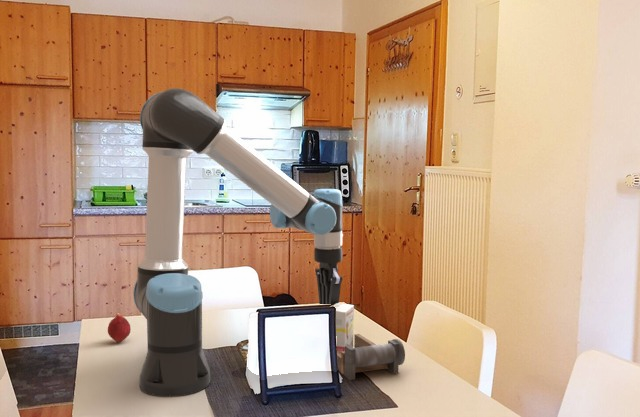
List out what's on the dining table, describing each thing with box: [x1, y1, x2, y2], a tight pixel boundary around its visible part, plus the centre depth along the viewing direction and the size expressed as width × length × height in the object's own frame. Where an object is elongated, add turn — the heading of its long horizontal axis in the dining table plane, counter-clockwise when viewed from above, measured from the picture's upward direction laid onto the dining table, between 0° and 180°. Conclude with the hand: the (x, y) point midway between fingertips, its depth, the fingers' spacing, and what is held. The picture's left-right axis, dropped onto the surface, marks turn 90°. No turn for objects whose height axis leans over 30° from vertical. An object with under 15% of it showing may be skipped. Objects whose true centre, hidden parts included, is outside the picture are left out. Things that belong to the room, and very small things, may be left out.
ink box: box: [333, 302, 355, 354], centre depth 156 cm, size 9×5×12 cm, turn 162°
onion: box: [107, 312, 131, 344], centre depth 162 cm, size 6×6×8 cm
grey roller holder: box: [337, 333, 406, 381], centre depth 148 cm, size 13×22×8 cm, turn 23°
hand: (328, 332), depth 165 cm, fingers closed
